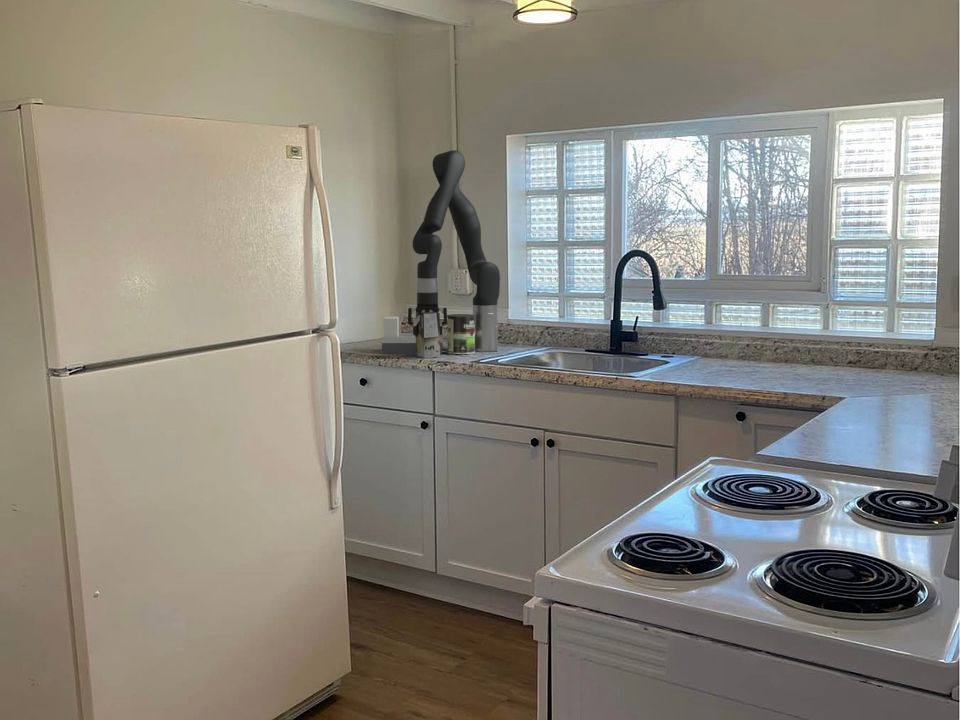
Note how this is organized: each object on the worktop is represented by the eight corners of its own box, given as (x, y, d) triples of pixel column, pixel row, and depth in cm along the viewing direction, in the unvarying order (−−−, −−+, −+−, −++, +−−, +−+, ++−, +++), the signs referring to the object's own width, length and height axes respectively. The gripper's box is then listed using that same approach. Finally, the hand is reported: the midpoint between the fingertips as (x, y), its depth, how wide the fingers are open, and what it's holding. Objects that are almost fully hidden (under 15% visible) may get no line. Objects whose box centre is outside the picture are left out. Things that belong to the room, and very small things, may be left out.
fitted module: (398, 337, 342) (398, 316, 341) (397, 340, 333) (397, 318, 332) (385, 337, 342) (385, 316, 341) (383, 340, 333) (383, 318, 332)
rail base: (442, 349, 346) (442, 338, 345) (442, 353, 332) (442, 342, 331) (384, 349, 345) (384, 338, 344) (382, 354, 331) (381, 343, 331)
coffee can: (480, 352, 335) (480, 314, 333) (463, 355, 327) (463, 316, 325) (459, 350, 341) (458, 313, 339) (441, 353, 333) (441, 315, 331)
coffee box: (440, 357, 322) (440, 312, 320) (424, 358, 319) (423, 313, 317) (431, 354, 330) (431, 310, 328) (415, 355, 328) (414, 311, 325)
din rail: (442, 338, 345) (442, 333, 344) (442, 342, 332) (442, 336, 331) (384, 339, 344) (384, 333, 344) (382, 343, 331) (381, 337, 331)
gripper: (447, 290, 326) (447, 335, 328) (407, 290, 325) (408, 335, 327) (447, 291, 318) (447, 337, 320) (406, 291, 318) (407, 337, 320)
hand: (427, 336), depth 324 cm, fingers closed on coffee box, 8 cm apart
